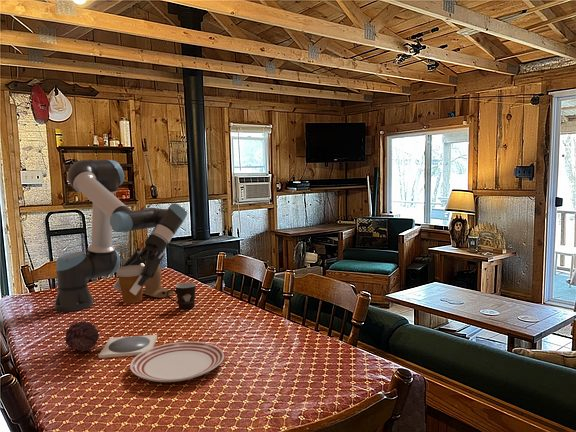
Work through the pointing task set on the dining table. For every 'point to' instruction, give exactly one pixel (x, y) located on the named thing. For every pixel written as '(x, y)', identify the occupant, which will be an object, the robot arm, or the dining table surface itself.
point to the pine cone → (82, 335)
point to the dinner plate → (176, 361)
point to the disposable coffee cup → (129, 282)
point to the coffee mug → (185, 295)
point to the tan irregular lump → (156, 286)
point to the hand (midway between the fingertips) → (124, 291)
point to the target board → (127, 346)
